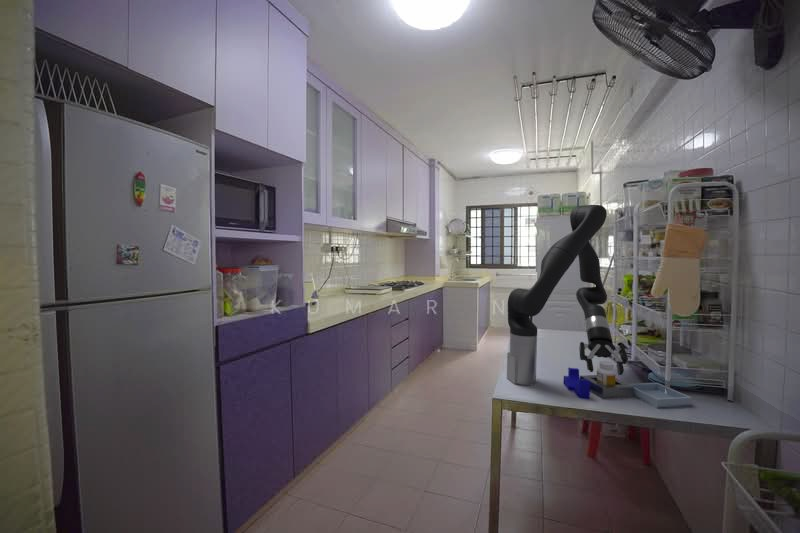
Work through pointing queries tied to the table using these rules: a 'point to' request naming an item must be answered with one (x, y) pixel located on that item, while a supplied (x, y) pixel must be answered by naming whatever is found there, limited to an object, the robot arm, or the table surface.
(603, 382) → the supplement bottle
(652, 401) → the tray
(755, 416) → the table surface
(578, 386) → the blue stepped block
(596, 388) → the tray
